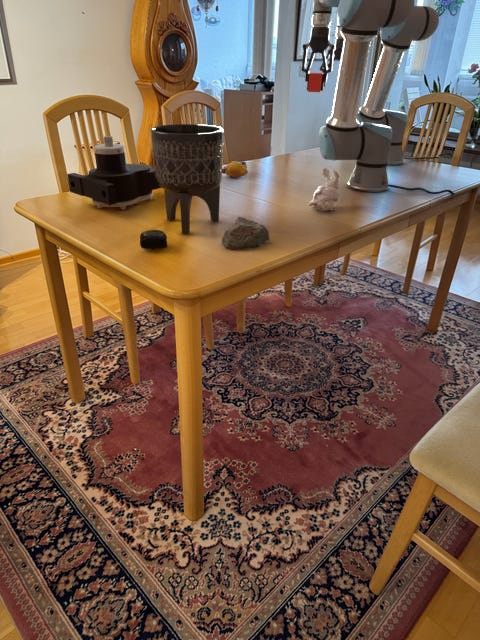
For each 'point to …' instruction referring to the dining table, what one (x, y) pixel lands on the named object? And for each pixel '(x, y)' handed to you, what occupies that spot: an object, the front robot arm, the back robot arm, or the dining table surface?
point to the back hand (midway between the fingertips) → (338, 87)
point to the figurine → (326, 192)
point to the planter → (188, 167)
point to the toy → (235, 169)
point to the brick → (315, 82)
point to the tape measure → (153, 239)
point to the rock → (245, 234)
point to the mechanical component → (114, 178)
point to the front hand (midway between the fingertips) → (315, 90)
